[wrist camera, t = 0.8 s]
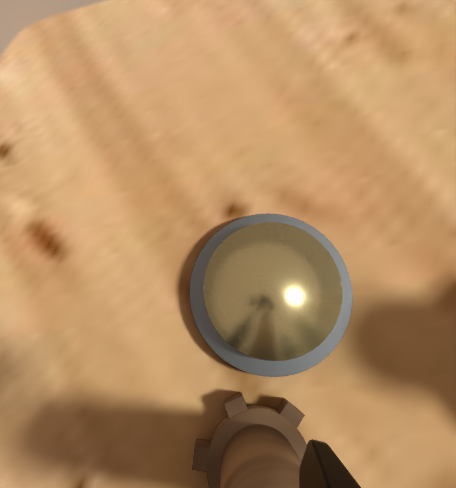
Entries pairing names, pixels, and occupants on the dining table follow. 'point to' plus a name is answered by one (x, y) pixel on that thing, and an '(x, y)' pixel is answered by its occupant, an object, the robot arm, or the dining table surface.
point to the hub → (272, 291)
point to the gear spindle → (253, 447)
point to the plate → (233, 354)
